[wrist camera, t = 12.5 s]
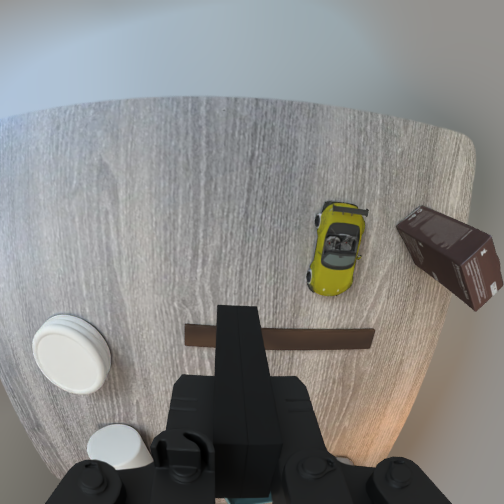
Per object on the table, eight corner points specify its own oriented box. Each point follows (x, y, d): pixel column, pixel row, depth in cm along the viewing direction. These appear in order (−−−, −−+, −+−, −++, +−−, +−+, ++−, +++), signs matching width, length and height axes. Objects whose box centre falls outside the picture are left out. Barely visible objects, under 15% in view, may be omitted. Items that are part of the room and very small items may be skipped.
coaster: (113, 387, 36) (106, 405, 33) (47, 367, 35) (36, 382, 31) (112, 323, 33) (103, 340, 30) (39, 303, 32) (25, 317, 28)
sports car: (302, 292, 34) (308, 304, 31) (317, 197, 31) (326, 202, 28) (345, 294, 34) (355, 306, 31) (363, 204, 31) (376, 209, 29)
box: (392, 227, 32) (460, 264, 21) (421, 204, 32) (494, 231, 20) (413, 268, 34) (476, 314, 23) (440, 245, 34) (507, 283, 22)
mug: (145, 423, 38) (131, 491, 27) (165, 463, 41) (158, 524, 30) (94, 422, 38) (72, 483, 27) (119, 461, 41) (106, 518, 30)
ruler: (185, 323, 34) (184, 325, 33) (373, 328, 36) (375, 330, 36) (185, 343, 35) (184, 345, 34) (368, 346, 37) (369, 348, 36)
